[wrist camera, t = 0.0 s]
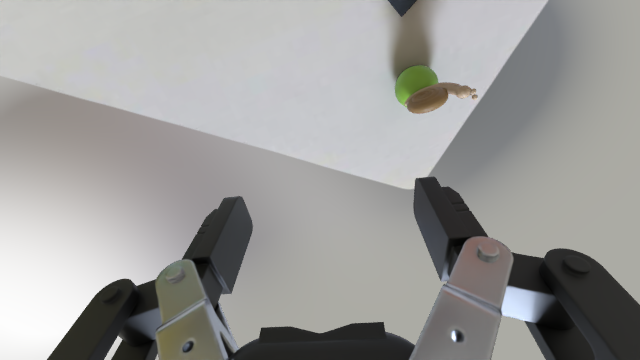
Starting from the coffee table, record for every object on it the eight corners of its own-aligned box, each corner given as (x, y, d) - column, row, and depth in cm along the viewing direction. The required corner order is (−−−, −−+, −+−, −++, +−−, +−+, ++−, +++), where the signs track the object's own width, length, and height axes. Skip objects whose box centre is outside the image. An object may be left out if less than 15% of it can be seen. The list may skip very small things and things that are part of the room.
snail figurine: (441, 87, 37) (483, 117, 27) (398, 107, 39) (422, 142, 29) (431, 50, 35) (473, 68, 25) (385, 74, 36) (407, 99, 26)
